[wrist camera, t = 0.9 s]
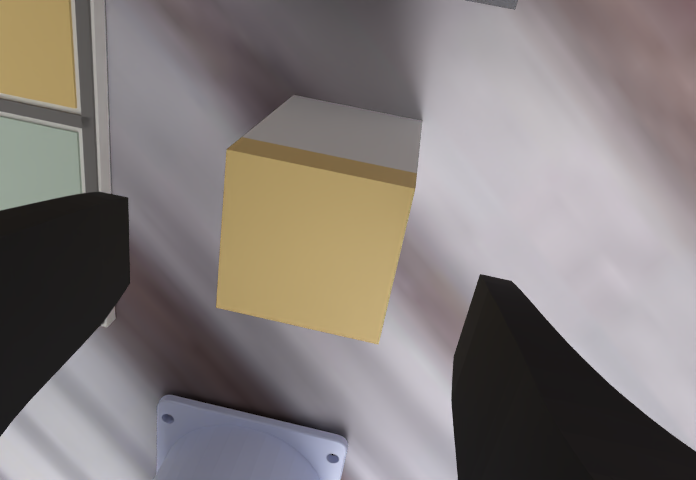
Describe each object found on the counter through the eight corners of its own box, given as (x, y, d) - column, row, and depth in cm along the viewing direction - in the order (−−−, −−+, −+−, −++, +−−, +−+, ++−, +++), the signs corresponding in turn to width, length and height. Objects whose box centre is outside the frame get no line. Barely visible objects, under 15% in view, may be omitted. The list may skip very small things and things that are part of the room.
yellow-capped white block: (395, 237, 18) (378, 344, 13) (279, 212, 19) (216, 307, 13) (422, 120, 17) (415, 188, 11) (293, 94, 17) (226, 149, 11)
